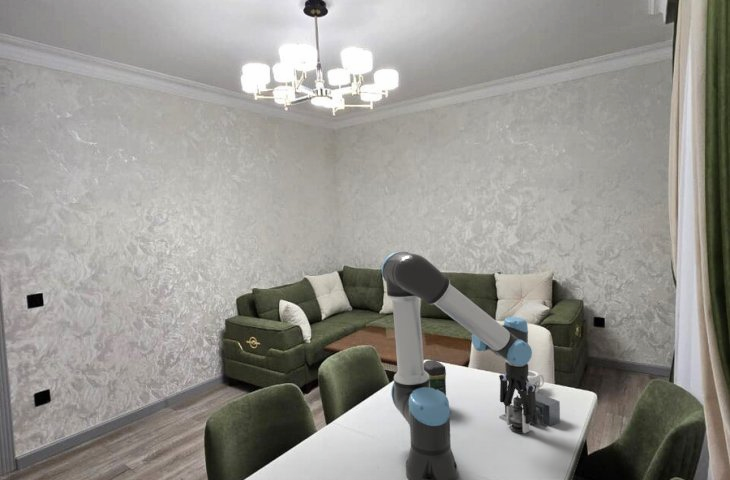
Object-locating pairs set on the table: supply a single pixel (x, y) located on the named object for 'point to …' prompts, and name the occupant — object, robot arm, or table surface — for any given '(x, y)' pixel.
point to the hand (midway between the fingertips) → (518, 427)
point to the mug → (535, 379)
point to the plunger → (536, 414)
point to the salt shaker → (516, 415)
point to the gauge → (545, 409)
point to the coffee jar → (436, 375)
